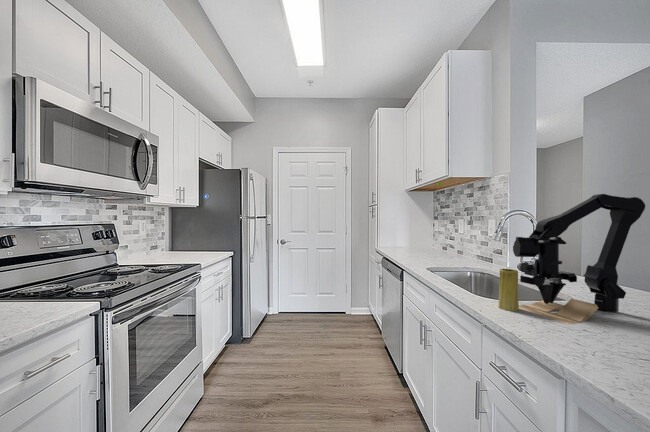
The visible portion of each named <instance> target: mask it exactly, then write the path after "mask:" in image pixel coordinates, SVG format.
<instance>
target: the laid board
mask: <svg viewBox="0 0 650 432" xmlns="http://www.w3.org/2000/svg"><path fill="white" fill-rule="evenodd" d="M519 310H522V311H525V312H529V313H532V314H535V315H538V316H541V317H545V318H548V319H550V320H551V319H552V320H553V321H557V322H561V323H563V324H567V325H573V324H582V323H583V322H580V321H577V320H574V319H570V318H567V317H563V316H560V315H557V313H552V312H547V311H543V310H540V309H536V308H533V307H530V306H527V305H526V304H521V305H519Z"/></svg>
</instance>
